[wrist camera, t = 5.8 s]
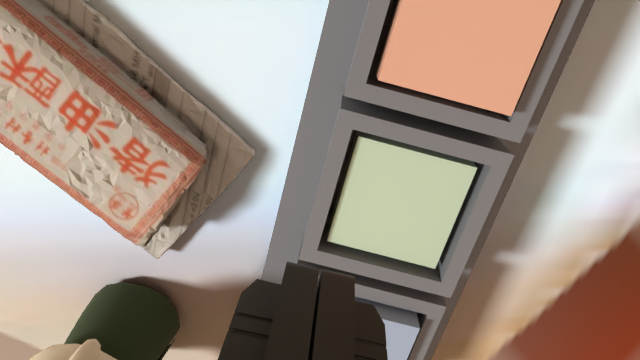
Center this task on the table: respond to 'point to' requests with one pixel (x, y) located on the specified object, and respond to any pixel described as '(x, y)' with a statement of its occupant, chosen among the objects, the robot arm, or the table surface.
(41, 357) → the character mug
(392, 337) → the slate button
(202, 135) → the packaged product
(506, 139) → the button panel
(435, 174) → the sage button
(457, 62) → the terracotta button
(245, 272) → the table surface
